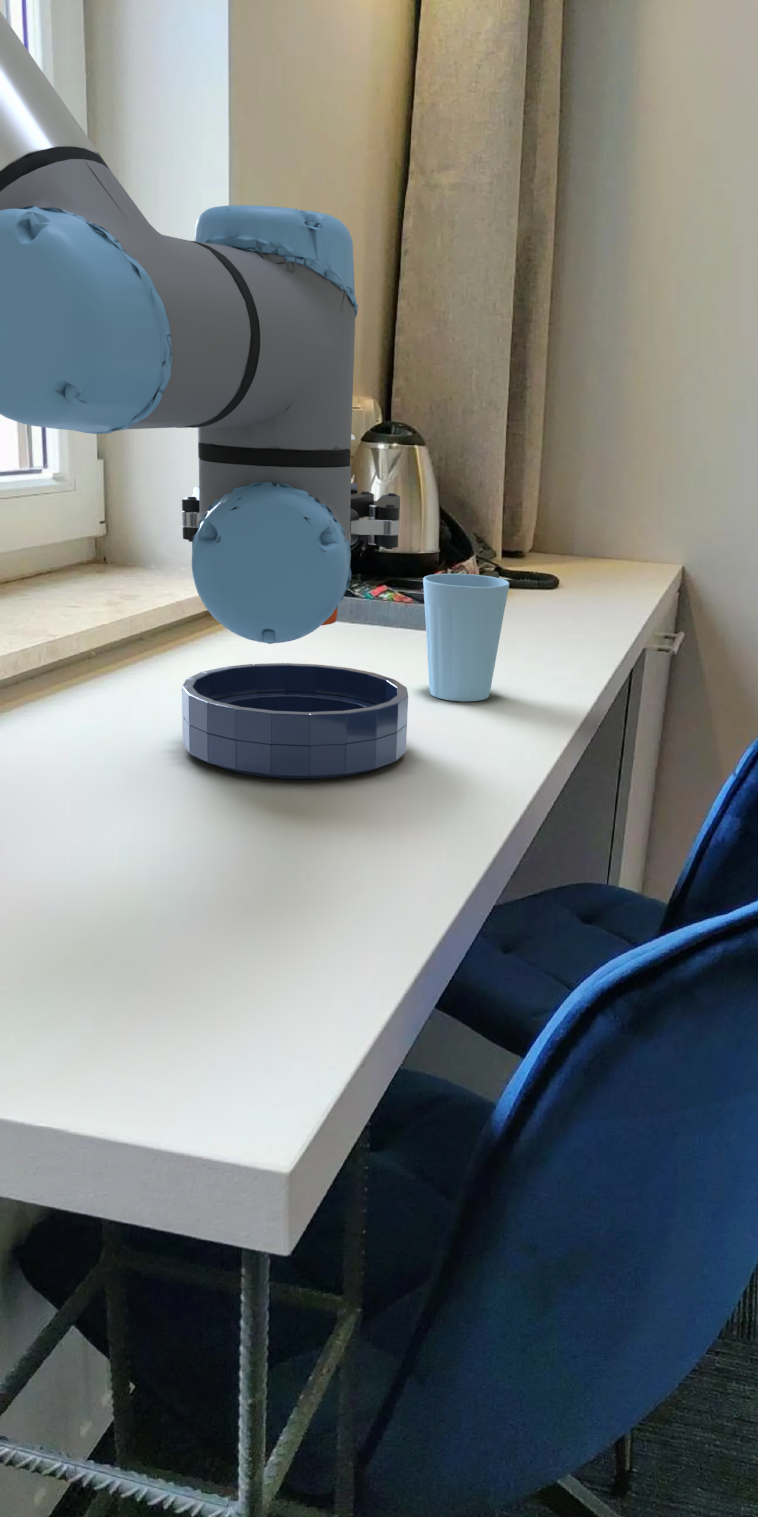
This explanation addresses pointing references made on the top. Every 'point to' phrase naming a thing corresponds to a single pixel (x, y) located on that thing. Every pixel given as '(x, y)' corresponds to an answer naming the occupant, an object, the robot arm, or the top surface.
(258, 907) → the top surface
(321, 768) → the bowl
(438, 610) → the cup
